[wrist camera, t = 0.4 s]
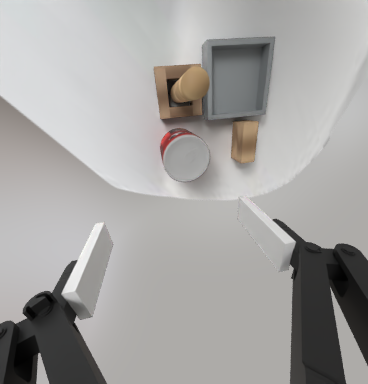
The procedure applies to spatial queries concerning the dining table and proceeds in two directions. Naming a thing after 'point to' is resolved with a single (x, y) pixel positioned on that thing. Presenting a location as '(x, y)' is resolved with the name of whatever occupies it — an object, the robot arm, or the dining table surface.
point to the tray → (237, 76)
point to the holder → (161, 77)
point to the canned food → (184, 155)
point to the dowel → (190, 85)
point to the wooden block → (244, 140)
